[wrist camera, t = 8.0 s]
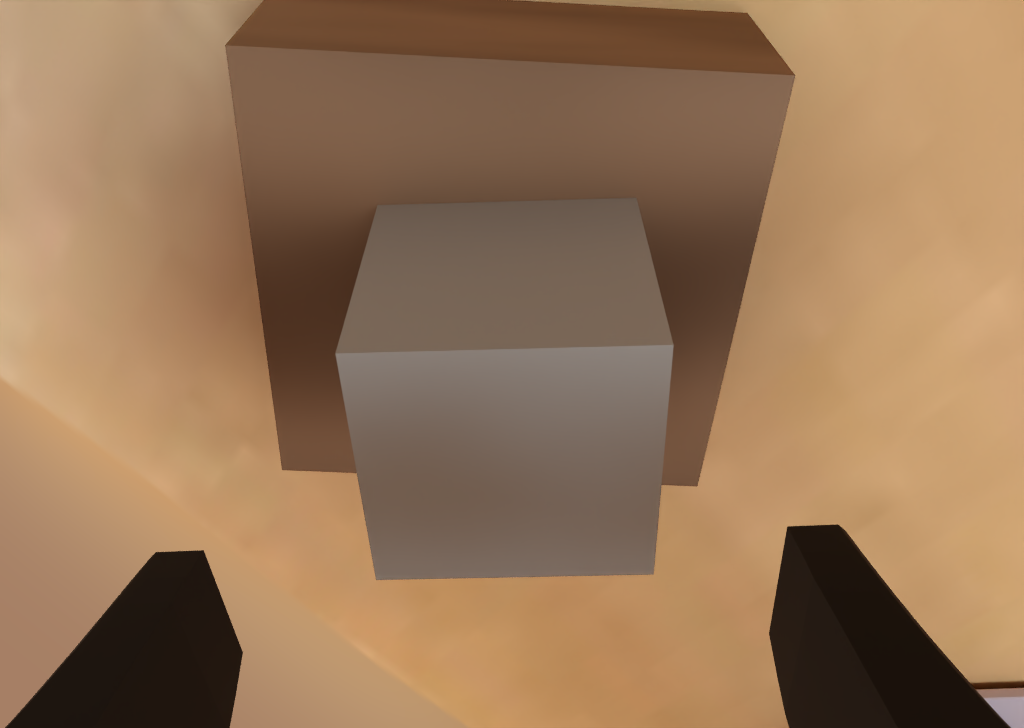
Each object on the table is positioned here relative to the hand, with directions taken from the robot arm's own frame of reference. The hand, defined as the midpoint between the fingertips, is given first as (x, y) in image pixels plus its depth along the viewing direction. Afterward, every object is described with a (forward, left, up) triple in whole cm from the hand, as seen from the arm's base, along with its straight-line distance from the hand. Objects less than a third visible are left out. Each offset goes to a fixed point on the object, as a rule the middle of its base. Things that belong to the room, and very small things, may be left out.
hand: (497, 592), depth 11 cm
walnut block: (0, 0, -11) cm, 11 cm away
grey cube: (0, 0, -7) cm, 7 cm away
